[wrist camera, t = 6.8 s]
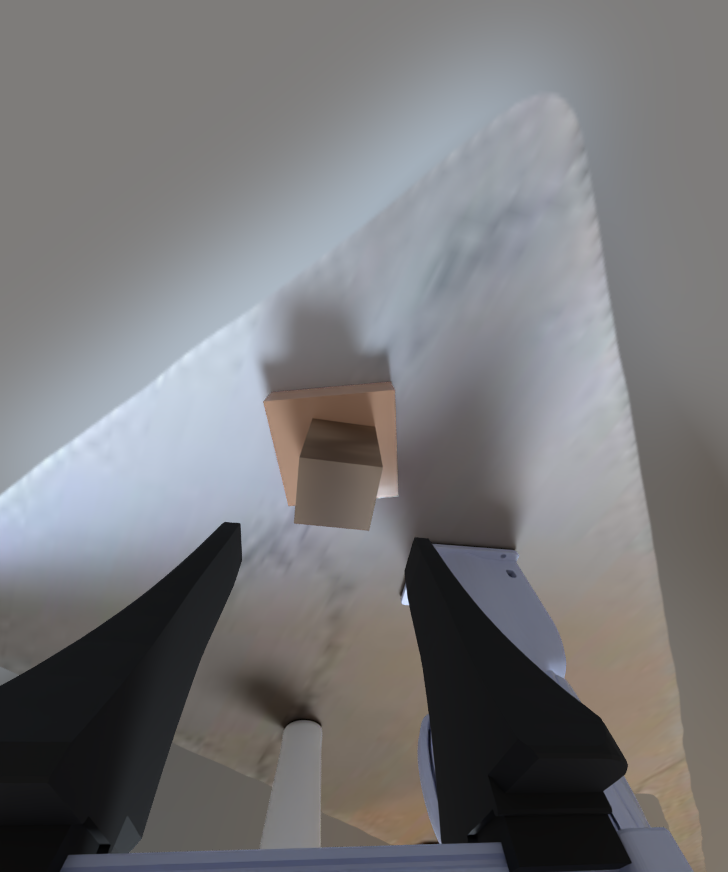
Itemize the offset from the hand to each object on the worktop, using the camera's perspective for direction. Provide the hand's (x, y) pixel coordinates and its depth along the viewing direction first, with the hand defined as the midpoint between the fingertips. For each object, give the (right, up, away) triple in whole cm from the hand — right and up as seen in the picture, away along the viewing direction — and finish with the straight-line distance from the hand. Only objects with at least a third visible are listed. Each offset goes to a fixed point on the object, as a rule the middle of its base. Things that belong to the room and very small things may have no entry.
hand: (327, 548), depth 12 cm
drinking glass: (-7, -36, +28) cm, 46 cm away
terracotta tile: (0, +5, +9) cm, 11 cm away
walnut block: (0, +4, +7) cm, 8 cm away
